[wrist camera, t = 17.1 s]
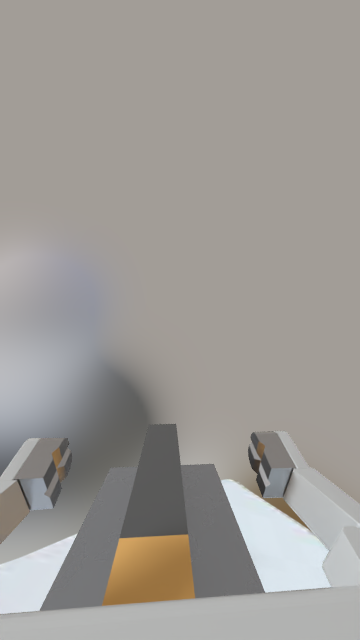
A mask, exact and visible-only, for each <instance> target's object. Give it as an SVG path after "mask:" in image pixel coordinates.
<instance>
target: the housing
mask: <svg viewBox="0 0 360 640" xmlns="http://www.w3.org/2000/svg"><path fill="white" fill-rule="evenodd" d="M137 469H138V467H122V468H110V470H109V472H108V474H107V476H106V478H105V480H104V482H103V484H102V486H101V489H100V490H99V492H98V494H97V496H96V498H95V500H94V502H93V504H92V506H91V508H90V510H89V512H88V514H87V516H86V518H85V521H84V522H83V524H82V527H81V529H80V530H79V532H78V534H77V536H76V538H75V540H74V542H73V544H72V546H71V548H70V550H69V552H68V554H67V556H66V558H65V560H64V562H63V564H62V567H61V569H60V571H59V573H58V575H57V577H56V579H55V581H54V583H53V585H52V587H51V589H50V591H49V593H48V595H47V597H46V599H45V601H44V603H43V605H42V607H41V609H40V611H45V610H58V609H70V608H83V607H95V606H102V603H103V600H104V596H105V592H106V588H107V584H108V580H109V577H110V573H111V569H112V565H113V561H114V557H115V553H116V550H117V546H118V542H119V538H120V534H121V530H122V526H123V523H124V519H125V515H126V511H127V507H128V503H129V500H130V496H131V492H132V488H133V484H134V480H135V476H136V473H137ZM181 474H182V483H183V492H184V501H185V510H186V519H187V528H188V537H189V547H190V556H191V565H192V574H193V583H194V592H195V598H206V597H219V596H231V595H244V594H256V593H265V591H264V589H263V586H262V584H261V581H260V579H259V576H258V574H257V571H256V569H255V566H254V564H253V561H252V559H251V556H250V554H249V551H248V549H247V546H246V544H245V541H244V538H243V536H242V533H241V531H240V528H239V526H238V523H237V521H236V518H235V516H234V513H233V511H232V508H231V506H230V503H229V501H228V498H227V496H226V493H225V491H224V488H223V486H222V483H221V481H220V478H219V476H218V474H217V471H216V468H215V466H214V464H202V465H181Z"/></svg>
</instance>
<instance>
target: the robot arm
mask: <svg viewBox="0 0 360 640" xmlns="http://www.w3.org/2000/svg"><path fill="white" fill-rule="evenodd" d="M251 440H252V443H251V444H250V445H249V449H248V455H249V460H250V464H251V467H252V469H253V470H254V471H255V472H256V473H257V474H258V475H257V479H256V481H257V483H258V486H259V488H260V491H261V494H262V497H263V498H271V497H272V498H274V497H283V499H284V500H285V501H286V503H287V504H288V505H289V506H290V507H291V508H292V509H293V511H294V512H295V513H296V514H297V515H298V516H299V517H300V518H301V520H302V521H303V522H304V523H305V524H306V525H307V526H308V527H309V528H310V530H311V531H312V532H313V533H314V534H315V535H316V537H317V538H318V539H319V540H320V541H321V542H322V543H323V545H324V546H325V547H326V548H327V549H328V550H329V552H328V554H327V556H326V558H325V559H324V561H323V564H322V568H323V570H324V572H325V575H326V577H327V579H328V581H329V583H330V585H331V587H330V588H318V589H305V590H293V591H281V592H268V593H256V594H244V595H231V596H219V597H206V598H194V599H182V600H169V601H157V602H144V603H132V604H120V605H107V606H95V607H83V608H70V609H58V610H45V611H33V612H21V613H8V614H0V640H360V504H359V503H358V502H356V501H355V500H354V499H353V498H351V497H350V496H349V495H347V494H346V493H345V492H344V491H342V490H341V489H340V488H338V487H337V486H336V485H335V484H333V483H332V482H331V481H329V480H328V479H327V478H326V477H324V476H323V475H322V474H321V473H319V472H318V471H317V470H315V469H314V468H310V467H309V466H308V464H307V463H306V461H305V459H304V458H303V456H302V455H301V453H300V452H299V450H298V448H297V447H296V445H295V443H294V442H293V440H292V439H291V437H290V435H289V434H288V433H287V432H286V431H275V432H274V431H268V432H253V433H252V434H251ZM68 445H69V441H68V438H33V439H31V438H30V439H28V440H27V441H26V442H25V443H24V444H23V445H22V447H21V448H20V450H19V451H18V453H17V454H16V455H15V457H14V458H13V460H12V461H11V463H10V464H9V465H8V467H7V468H6V470H5V471H4V473H3V474H2V475H1V477H0V544H1V543H2V542H3V541H4V540H5V539H6V537H7V536H8V535H9V534H10V533H11V532H12V531H13V530H14V529H15V528H16V527H17V525H18V524H19V523H20V522H21V521H22V520H23V519H24V518H25V517H26V516H27V515H28V513H29V512H30V510H38V509H50V508H54V506H55V503H56V501H57V498H58V496H59V494H60V492H61V489H62V487H61V483H60V482H61V481H62V480H64V478H66V476H67V475H68V472H69V469H70V466H71V462H72V453H71V451H70V450H69V449H68V448H67V447H68Z"/></svg>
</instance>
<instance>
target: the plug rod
mask: <svg viewBox="0 0 360 640" xmlns="http://www.w3.org/2000/svg"><path fill="white" fill-rule="evenodd" d="M194 598H195V592H194V583H193V574H192V565H191V556H190V547H189V537H188V528H187V519H186V510H185V501H184V492H183V483H182V474H181V465H180V456H179V446H178V437H177V428H176V424H163V425H162V424H160V425H149V427H148V431H147V434H146V438H145V442H144V446H143V449H142V453H141V457H140V461H139V465H138V469H137V473H136V476H135V480H134V484H133V488H132V492H131V496H130V500H129V503H128V507H127V511H126V515H125V519H124V523H123V526H122V530H121V534H120V538H119V542H118V546H117V550H116V553H115V557H114V561H113V565H112V569H111V573H110V577H109V580H108V584H107V588H106V592H105V596H104V600H103V603H102V606H107V605H120V604H132V603H144V602H157V601H169V600H182V599H194Z"/></svg>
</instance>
